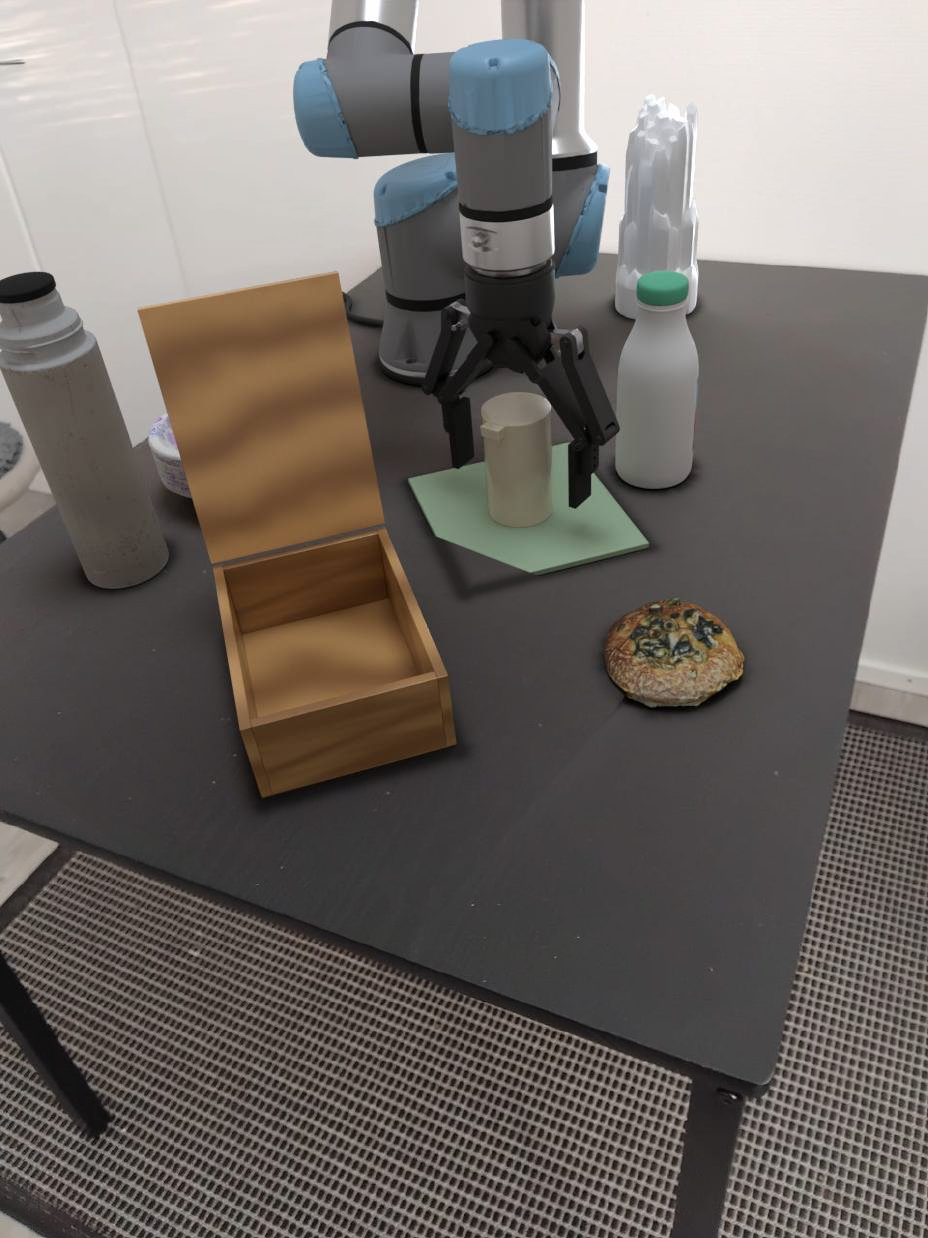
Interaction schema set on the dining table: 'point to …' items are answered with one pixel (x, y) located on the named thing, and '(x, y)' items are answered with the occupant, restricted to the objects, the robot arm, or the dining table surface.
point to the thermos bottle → (78, 433)
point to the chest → (330, 661)
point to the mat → (543, 548)
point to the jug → (518, 458)
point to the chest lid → (266, 413)
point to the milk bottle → (657, 387)
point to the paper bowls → (168, 457)
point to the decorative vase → (658, 202)
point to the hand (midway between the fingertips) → (519, 481)
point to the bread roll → (671, 654)
